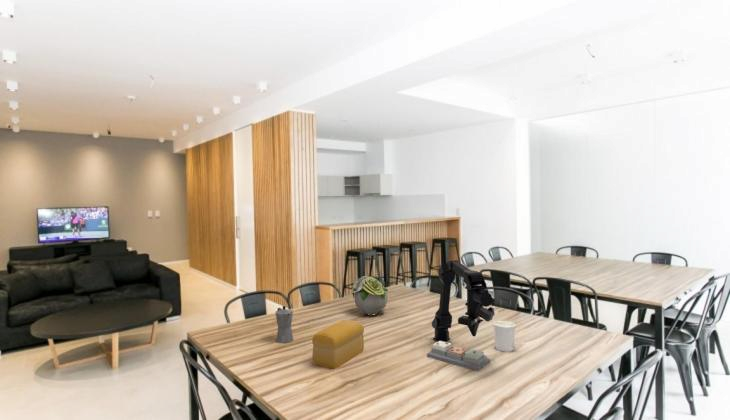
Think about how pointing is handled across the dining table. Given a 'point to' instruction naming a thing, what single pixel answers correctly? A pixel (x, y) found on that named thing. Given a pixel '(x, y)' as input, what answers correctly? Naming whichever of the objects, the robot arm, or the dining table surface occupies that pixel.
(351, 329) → the bread
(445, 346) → the tile two dots
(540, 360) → the dining table surface
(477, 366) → the button board
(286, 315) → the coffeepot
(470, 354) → the tile one dot
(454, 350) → the tile three dots
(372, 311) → the flower arrangement
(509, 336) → the candle holder
